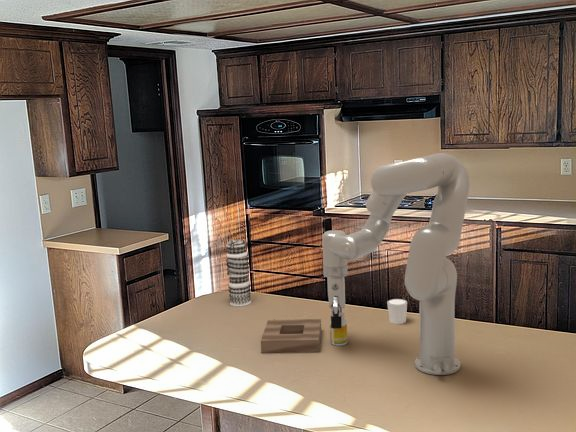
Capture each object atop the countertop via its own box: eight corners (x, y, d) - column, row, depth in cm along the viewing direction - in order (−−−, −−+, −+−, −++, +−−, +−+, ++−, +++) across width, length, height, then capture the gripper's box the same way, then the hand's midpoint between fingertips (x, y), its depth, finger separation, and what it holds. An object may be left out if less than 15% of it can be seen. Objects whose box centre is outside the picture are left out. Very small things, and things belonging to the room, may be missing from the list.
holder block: (319, 352, 182) (318, 339, 182) (261, 352, 184) (260, 340, 183) (321, 330, 200) (320, 318, 199) (268, 331, 202) (267, 320, 201)
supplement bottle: (327, 343, 189) (325, 314, 187) (339, 338, 192) (337, 309, 190) (338, 347, 185) (337, 318, 183) (351, 342, 188) (349, 313, 186)
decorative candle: (256, 303, 232) (252, 240, 227) (235, 308, 227) (230, 244, 223) (246, 297, 240) (241, 237, 235) (225, 302, 235) (220, 240, 231)
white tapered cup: (409, 324, 201) (409, 304, 199) (389, 325, 201) (388, 305, 200) (405, 317, 207) (405, 298, 206) (386, 318, 208) (385, 299, 206)
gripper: (347, 278, 176) (348, 332, 179) (347, 262, 192) (348, 312, 196) (322, 278, 176) (323, 332, 180) (324, 262, 193) (325, 312, 196)
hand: (336, 322), depth 188 cm, fingers open, 9 cm apart
